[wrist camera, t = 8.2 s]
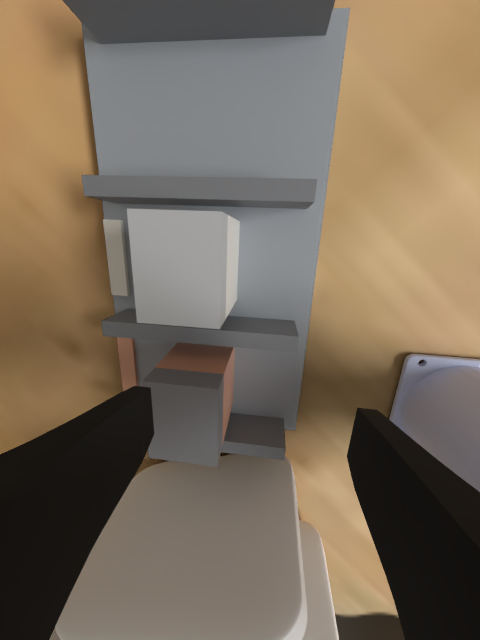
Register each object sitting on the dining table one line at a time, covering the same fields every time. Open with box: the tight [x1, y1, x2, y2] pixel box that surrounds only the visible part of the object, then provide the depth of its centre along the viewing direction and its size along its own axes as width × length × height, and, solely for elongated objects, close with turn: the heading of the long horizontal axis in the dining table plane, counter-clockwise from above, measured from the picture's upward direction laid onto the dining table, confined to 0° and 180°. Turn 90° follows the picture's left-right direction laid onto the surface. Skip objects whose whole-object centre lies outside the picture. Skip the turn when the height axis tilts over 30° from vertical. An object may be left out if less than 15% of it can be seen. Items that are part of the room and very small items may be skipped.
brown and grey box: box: [142, 342, 235, 467], centre depth 16 cm, size 4×5×6 cm
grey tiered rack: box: [63, 0, 350, 460], centre depth 16 cm, size 14×25×4 cm, turn 178°
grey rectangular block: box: [127, 209, 240, 329], centre depth 14 cm, size 4×5×6 cm
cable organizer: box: [55, 454, 339, 640], centre depth 19 cm, size 15×11×12 cm
